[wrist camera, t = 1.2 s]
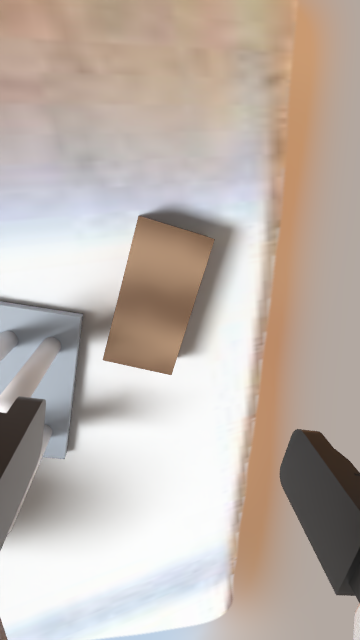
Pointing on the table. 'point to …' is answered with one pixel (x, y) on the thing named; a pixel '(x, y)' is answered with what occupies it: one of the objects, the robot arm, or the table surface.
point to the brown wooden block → (157, 295)
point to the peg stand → (40, 368)
